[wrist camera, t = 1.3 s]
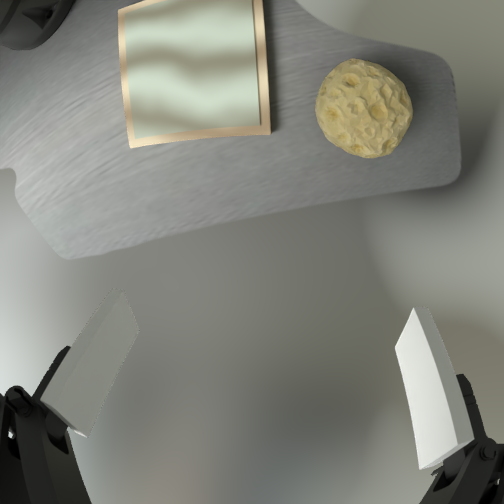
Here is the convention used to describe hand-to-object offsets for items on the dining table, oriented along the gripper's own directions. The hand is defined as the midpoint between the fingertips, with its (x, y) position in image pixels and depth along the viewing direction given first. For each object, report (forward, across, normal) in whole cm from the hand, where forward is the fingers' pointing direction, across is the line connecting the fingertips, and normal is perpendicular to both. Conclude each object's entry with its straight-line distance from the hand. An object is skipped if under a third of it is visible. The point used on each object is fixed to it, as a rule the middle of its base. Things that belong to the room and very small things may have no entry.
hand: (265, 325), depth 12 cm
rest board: (+21, -9, +14) cm, 27 cm away
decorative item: (+22, +8, +8) cm, 25 cm away
